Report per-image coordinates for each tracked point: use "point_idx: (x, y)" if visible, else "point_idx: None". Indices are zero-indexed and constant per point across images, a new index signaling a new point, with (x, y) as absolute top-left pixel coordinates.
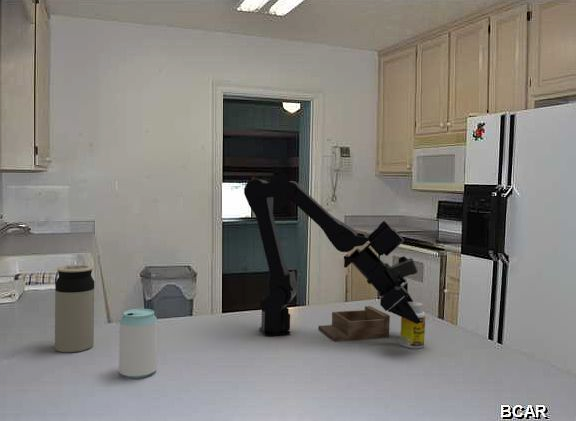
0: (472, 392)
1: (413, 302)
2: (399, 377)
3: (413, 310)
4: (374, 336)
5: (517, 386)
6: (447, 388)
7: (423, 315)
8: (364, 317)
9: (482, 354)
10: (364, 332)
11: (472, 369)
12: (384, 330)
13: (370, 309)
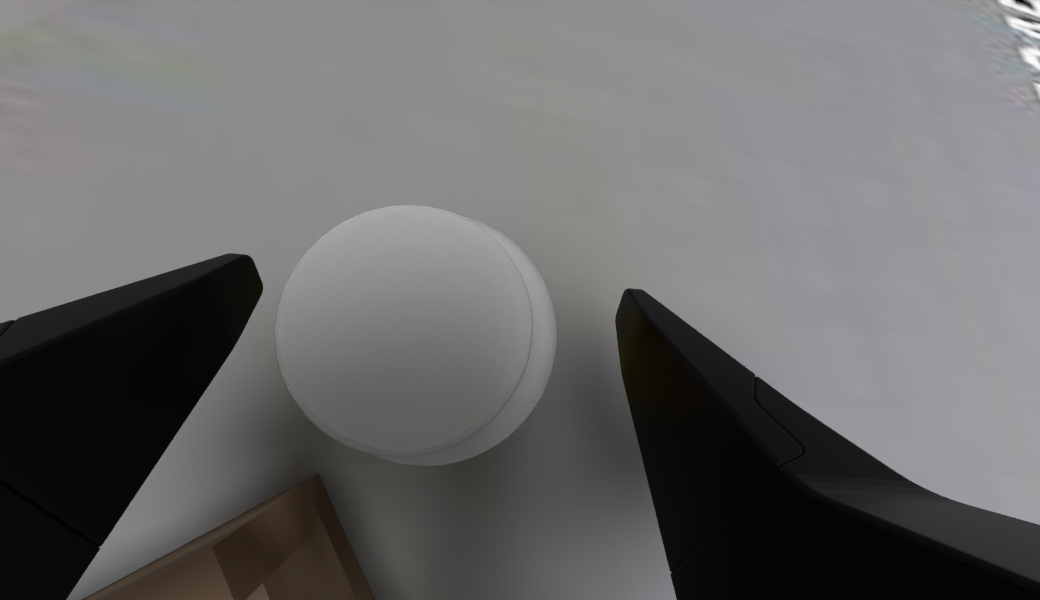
0: (982, 172)
1: (328, 324)
2: (942, 440)
3: (720, 360)
4: (358, 579)
5: (866, 5)
6: (981, 255)
7: (509, 238)
8: None
9: (523, 25)
10: None
11: (740, 116)
12: (308, 527)
13: None
